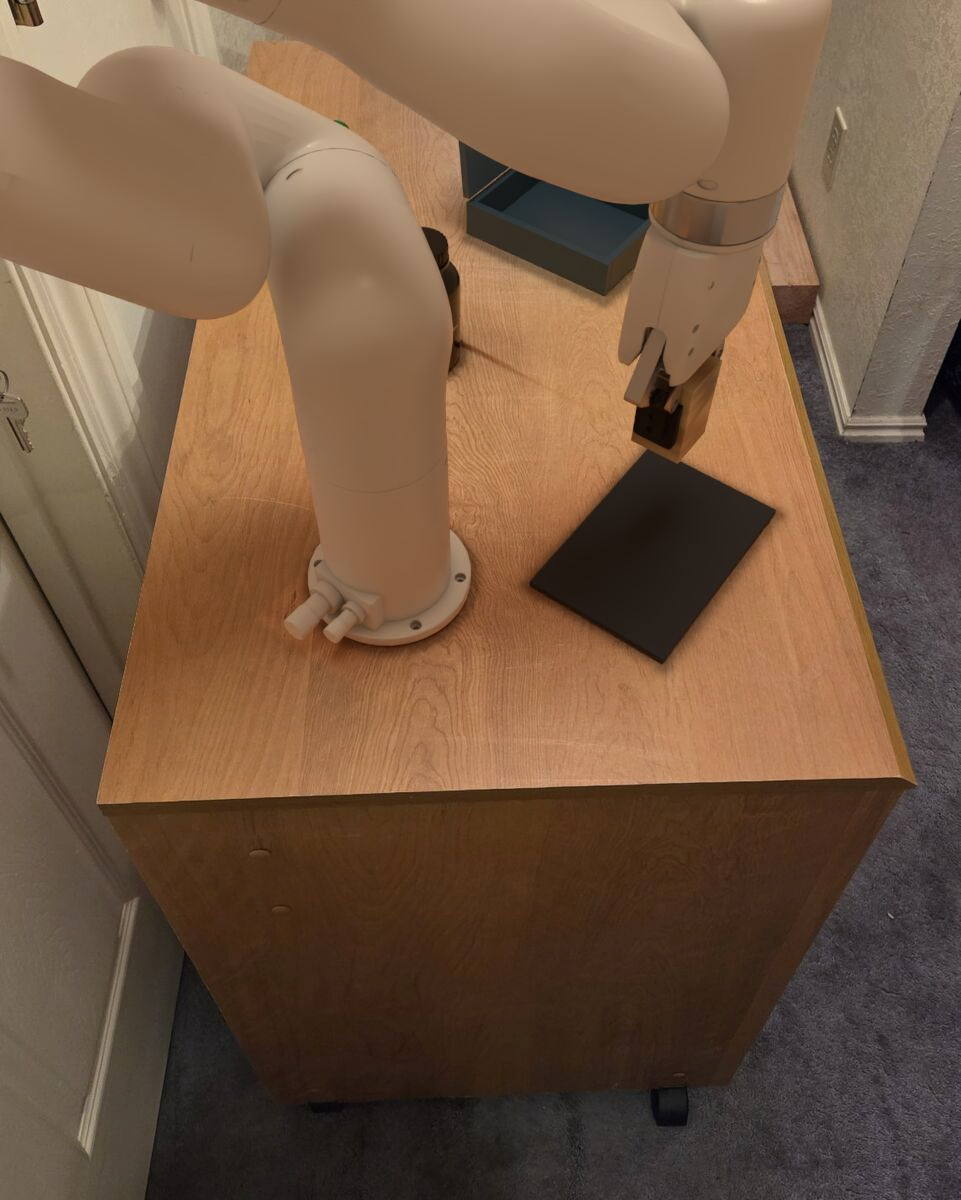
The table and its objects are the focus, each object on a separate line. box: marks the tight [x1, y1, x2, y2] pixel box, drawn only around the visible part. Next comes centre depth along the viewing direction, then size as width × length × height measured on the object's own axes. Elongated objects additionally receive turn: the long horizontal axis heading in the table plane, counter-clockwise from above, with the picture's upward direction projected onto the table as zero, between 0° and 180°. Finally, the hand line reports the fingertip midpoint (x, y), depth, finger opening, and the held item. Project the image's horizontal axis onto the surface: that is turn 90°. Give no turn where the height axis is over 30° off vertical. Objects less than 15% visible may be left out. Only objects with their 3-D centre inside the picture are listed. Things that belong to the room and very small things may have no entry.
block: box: [630, 355, 723, 464], centre depth 74 cm, size 4×4×7 cm
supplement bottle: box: [421, 226, 461, 371], centre depth 91 cm, size 7×7×12 cm
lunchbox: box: [465, 167, 652, 297], centre depth 105 cm, size 17×14×4 cm
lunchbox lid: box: [457, 139, 510, 200], centre depth 99 cm, size 17×14×1 cm
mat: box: [529, 448, 777, 664], centre depth 83 cm, size 18×12×1 cm, turn 144°
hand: (670, 418), depth 75 cm, fingers closed on block, 4 cm apart
